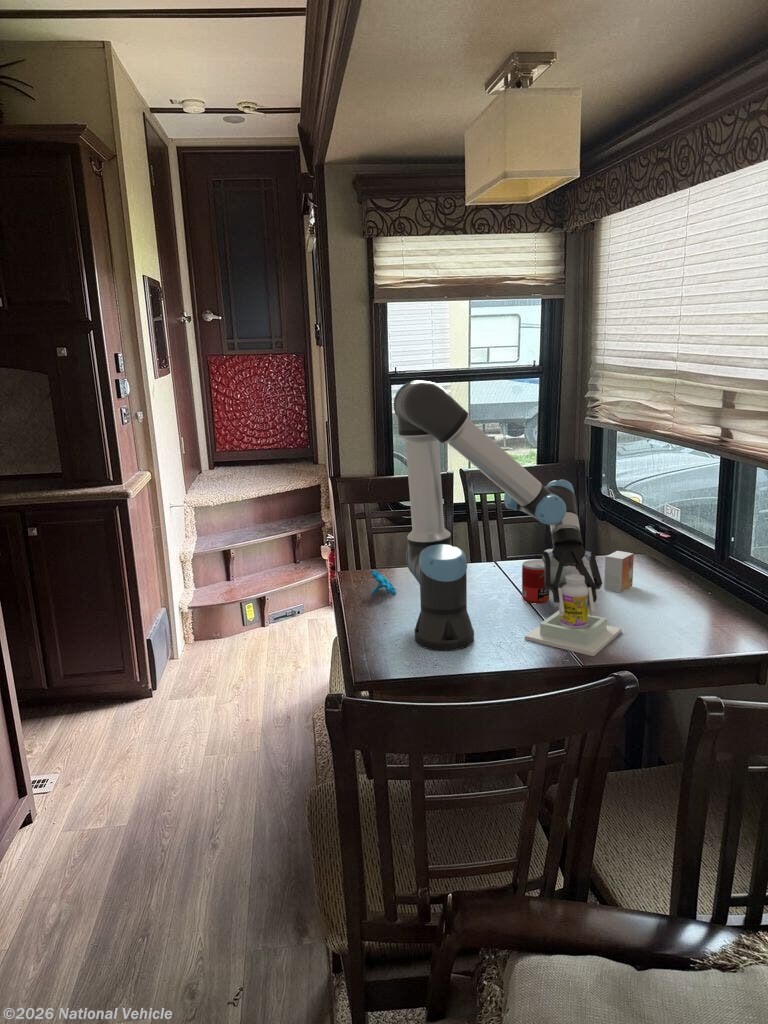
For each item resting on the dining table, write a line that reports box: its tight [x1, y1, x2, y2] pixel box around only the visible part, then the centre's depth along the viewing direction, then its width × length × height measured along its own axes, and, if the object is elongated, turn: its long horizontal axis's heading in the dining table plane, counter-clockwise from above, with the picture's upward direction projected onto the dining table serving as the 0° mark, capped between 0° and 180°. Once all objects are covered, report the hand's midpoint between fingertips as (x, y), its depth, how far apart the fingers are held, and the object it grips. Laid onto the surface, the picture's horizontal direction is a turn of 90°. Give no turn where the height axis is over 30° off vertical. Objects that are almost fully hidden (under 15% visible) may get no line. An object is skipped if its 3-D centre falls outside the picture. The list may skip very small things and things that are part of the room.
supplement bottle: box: [560, 573, 589, 629], centre depth 173 cm, size 7×7×13 cm
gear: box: [370, 569, 397, 595], centre depth 211 cm, size 11×6×10 cm
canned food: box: [521, 559, 550, 605], centre depth 200 cm, size 8×8×11 cm
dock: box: [524, 610, 622, 657], centre depth 174 cm, size 18×18×4 cm
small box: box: [603, 550, 635, 593], centre depth 208 cm, size 8×6×10 cm
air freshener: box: [543, 548, 572, 584], centre depth 216 cm, size 11×8×10 cm
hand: (577, 613), depth 170 cm, fingers closed on supplement bottle, 7 cm apart
